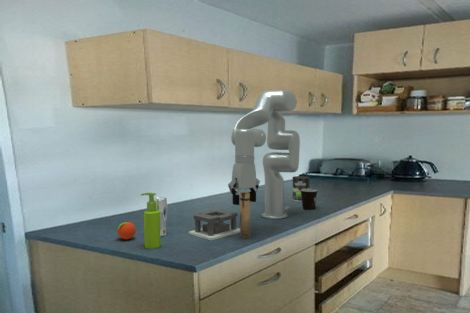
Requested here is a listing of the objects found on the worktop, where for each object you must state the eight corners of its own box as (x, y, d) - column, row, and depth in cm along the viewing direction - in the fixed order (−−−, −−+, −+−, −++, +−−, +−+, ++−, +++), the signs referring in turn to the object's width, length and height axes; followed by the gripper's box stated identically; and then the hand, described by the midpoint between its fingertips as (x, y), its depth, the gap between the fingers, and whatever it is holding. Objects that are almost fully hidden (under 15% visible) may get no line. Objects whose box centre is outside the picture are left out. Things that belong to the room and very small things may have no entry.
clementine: (123, 243, 147) (123, 225, 147) (111, 240, 151) (111, 222, 151) (139, 238, 154) (139, 220, 153) (128, 235, 158) (127, 218, 157)
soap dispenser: (147, 243, 147) (145, 191, 146) (163, 244, 145) (162, 192, 144) (139, 247, 142) (137, 194, 140) (155, 249, 140) (154, 194, 138)
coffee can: (308, 202, 226) (308, 178, 225) (291, 201, 229) (291, 177, 228) (310, 199, 235) (310, 176, 234) (293, 198, 238) (293, 175, 237)
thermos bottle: (245, 234, 158) (244, 191, 157) (252, 236, 155) (252, 192, 154) (238, 236, 155) (237, 192, 154) (245, 238, 152) (245, 193, 151)
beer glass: (168, 236, 157) (168, 199, 156) (151, 237, 155) (150, 200, 154) (166, 231, 163) (166, 196, 162) (150, 233, 161) (149, 197, 160)
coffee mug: (309, 206, 213) (309, 188, 213) (320, 209, 206) (320, 190, 205) (293, 209, 207) (293, 190, 206) (304, 211, 200) (304, 192, 199)
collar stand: (220, 225, 173) (220, 208, 172) (243, 231, 163) (242, 212, 162) (188, 234, 160) (188, 214, 159) (211, 240, 150) (210, 220, 149)
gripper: (252, 158, 161) (252, 199, 162) (222, 160, 149) (222, 204, 150) (266, 159, 156) (265, 201, 157) (236, 161, 144) (236, 207, 145)
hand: (244, 203), depth 153 cm, fingers open, 9 cm apart
